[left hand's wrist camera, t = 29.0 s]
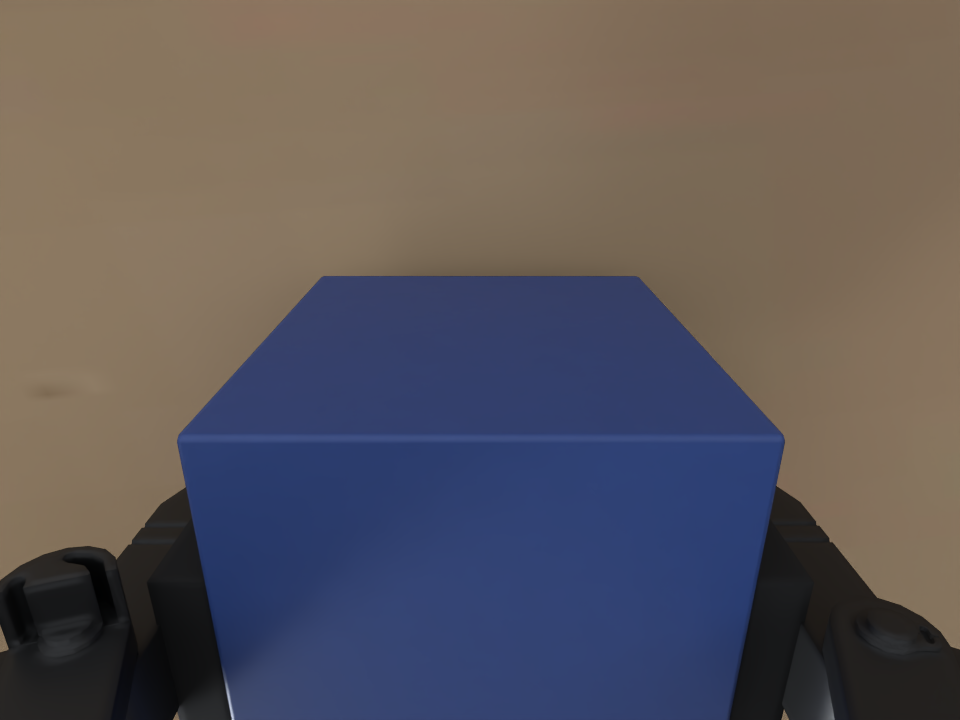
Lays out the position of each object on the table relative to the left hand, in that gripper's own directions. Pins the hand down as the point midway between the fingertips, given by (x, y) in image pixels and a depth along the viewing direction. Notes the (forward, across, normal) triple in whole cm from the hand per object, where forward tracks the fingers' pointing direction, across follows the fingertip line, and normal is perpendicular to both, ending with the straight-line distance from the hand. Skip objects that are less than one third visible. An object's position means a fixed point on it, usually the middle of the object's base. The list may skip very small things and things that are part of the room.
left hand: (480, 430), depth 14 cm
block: (0, 0, 0) cm, 0 cm away
